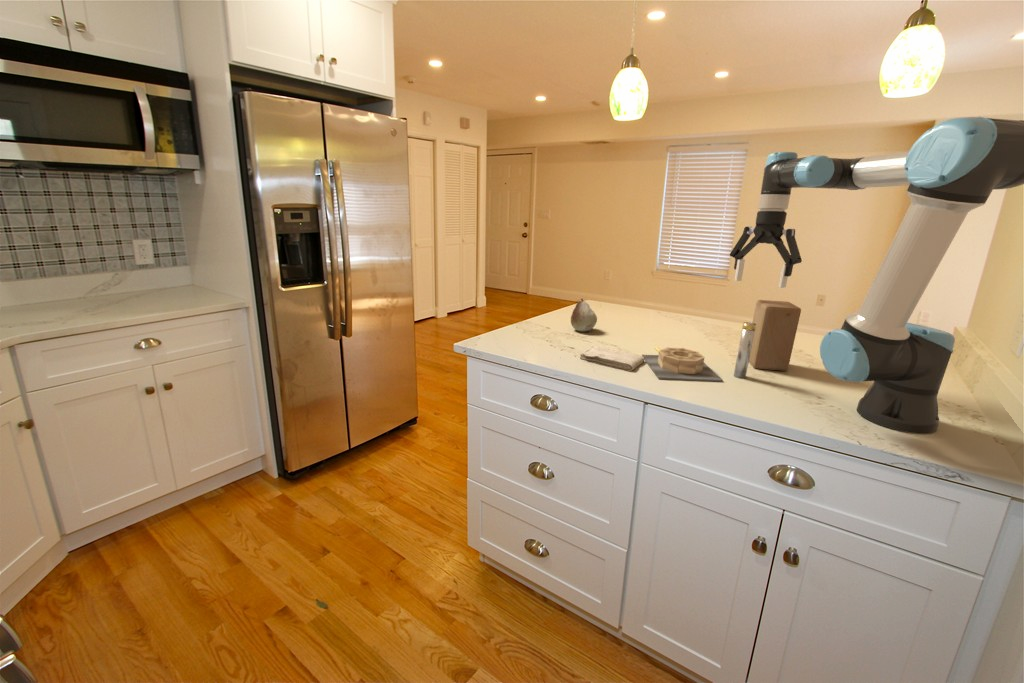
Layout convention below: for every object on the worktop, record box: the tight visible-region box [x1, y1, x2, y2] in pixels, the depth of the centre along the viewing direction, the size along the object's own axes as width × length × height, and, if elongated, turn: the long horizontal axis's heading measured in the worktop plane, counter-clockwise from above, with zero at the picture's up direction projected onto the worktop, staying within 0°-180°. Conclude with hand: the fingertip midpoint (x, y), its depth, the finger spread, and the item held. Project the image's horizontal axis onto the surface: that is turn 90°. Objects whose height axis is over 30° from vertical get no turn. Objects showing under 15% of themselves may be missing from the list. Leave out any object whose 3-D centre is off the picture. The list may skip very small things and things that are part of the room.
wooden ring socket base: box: [641, 347, 724, 383], centre depth 139 cm, size 20×18×5 cm
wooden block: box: [748, 299, 802, 372], centre depth 142 cm, size 10×10×20 cm
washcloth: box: [579, 345, 645, 372], centre depth 144 cm, size 12×18×3 cm, turn 56°
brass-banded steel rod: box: [733, 321, 756, 379], centre depth 132 cm, size 3×3×16 cm
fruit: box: [570, 298, 598, 333], centre depth 175 cm, size 10×9×12 cm
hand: (758, 284), depth 138 cm, fingers open, 13 cm apart
